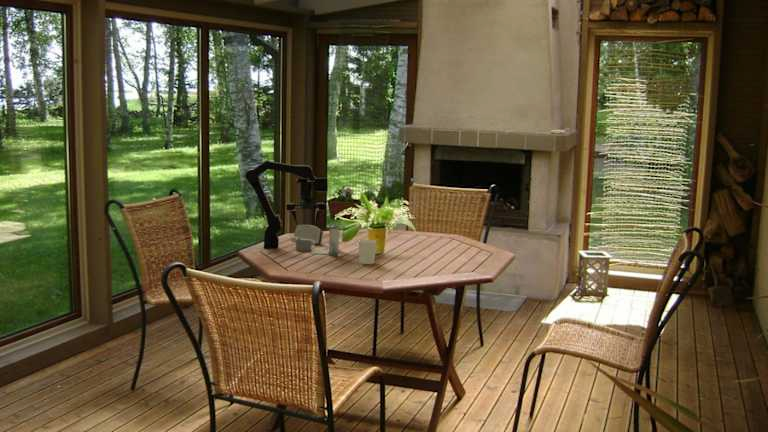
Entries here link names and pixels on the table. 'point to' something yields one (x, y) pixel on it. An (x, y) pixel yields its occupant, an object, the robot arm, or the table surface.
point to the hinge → (308, 234)
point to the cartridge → (334, 240)
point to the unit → (303, 244)
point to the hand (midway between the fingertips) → (305, 224)
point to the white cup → (367, 251)
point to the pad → (319, 252)
